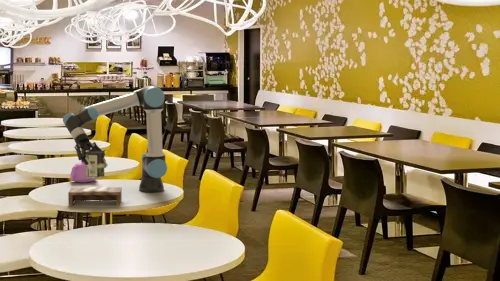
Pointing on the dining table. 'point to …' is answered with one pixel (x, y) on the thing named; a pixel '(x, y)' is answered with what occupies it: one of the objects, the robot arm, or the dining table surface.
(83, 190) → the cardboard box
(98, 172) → the coffee can
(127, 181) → the dining table surface
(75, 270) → the dining table surface
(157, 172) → the robot arm
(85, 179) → the teapot
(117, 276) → the dining table surface
